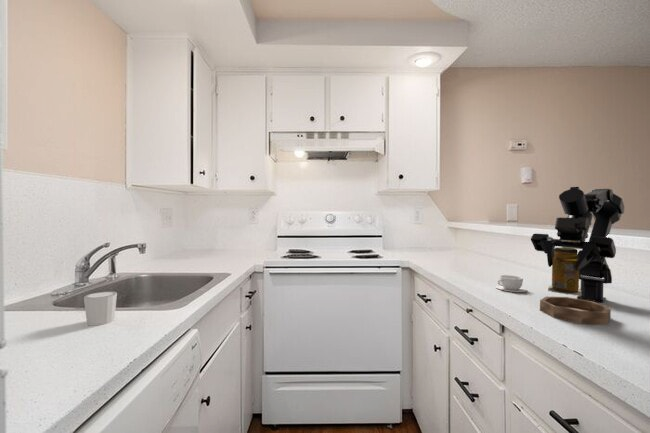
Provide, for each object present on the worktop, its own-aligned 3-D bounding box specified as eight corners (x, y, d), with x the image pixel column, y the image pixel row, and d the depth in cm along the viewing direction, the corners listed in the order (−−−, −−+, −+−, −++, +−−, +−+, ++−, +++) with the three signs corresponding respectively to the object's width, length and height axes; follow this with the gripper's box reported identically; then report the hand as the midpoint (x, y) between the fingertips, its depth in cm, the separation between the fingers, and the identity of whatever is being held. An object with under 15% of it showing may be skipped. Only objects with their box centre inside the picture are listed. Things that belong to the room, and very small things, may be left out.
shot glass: (78, 327, 74) (78, 299, 74) (91, 318, 81) (91, 291, 81) (111, 325, 76) (110, 297, 76) (121, 316, 83) (121, 290, 83)
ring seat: (550, 303, 96) (550, 294, 96) (613, 315, 85) (613, 305, 85) (535, 313, 87) (535, 302, 87) (603, 328, 76) (603, 316, 76)
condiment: (580, 289, 88) (581, 248, 88) (581, 296, 81) (582, 251, 81) (549, 286, 92) (549, 246, 92) (547, 292, 86) (548, 249, 85)
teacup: (514, 286, 119) (514, 274, 119) (533, 293, 109) (534, 280, 109) (489, 286, 119) (490, 274, 118) (507, 293, 109) (507, 280, 109)
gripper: (533, 207, 96) (517, 245, 90) (613, 207, 81) (600, 253, 75) (543, 231, 101) (528, 269, 95) (621, 235, 86) (609, 280, 80)
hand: (562, 267), depth 86 cm, fingers closed on condiment, 6 cm apart
